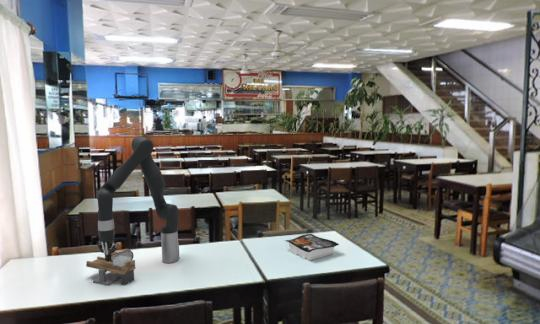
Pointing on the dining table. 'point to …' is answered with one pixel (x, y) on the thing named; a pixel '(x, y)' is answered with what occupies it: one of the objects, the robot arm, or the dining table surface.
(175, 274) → the dining table surface
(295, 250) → the food packaging
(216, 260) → the dining table surface
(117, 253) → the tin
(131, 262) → the balance beam
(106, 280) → the pivot stand
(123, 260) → the block
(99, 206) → the robot arm
